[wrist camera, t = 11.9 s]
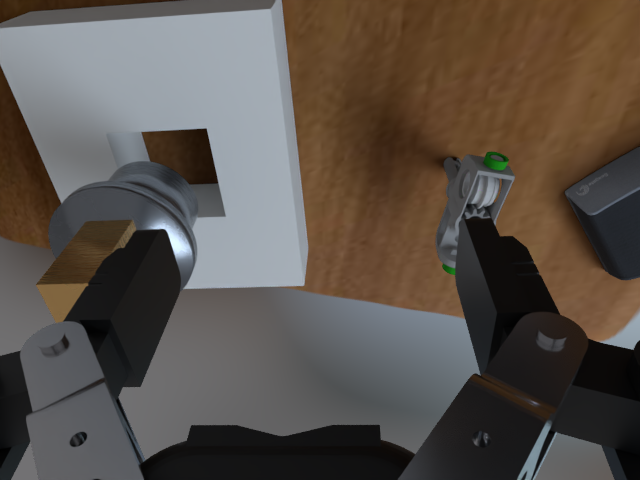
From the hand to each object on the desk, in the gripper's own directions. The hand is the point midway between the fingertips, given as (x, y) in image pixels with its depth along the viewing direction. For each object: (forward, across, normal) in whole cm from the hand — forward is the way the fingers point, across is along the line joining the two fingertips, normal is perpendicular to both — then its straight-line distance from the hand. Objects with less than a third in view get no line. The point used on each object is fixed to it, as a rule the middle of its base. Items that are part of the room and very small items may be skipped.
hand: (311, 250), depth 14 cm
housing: (+30, +14, +10) cm, 35 cm away
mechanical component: (+30, -10, +13) cm, 34 cm away
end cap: (+21, +14, +10) cm, 27 cm away
